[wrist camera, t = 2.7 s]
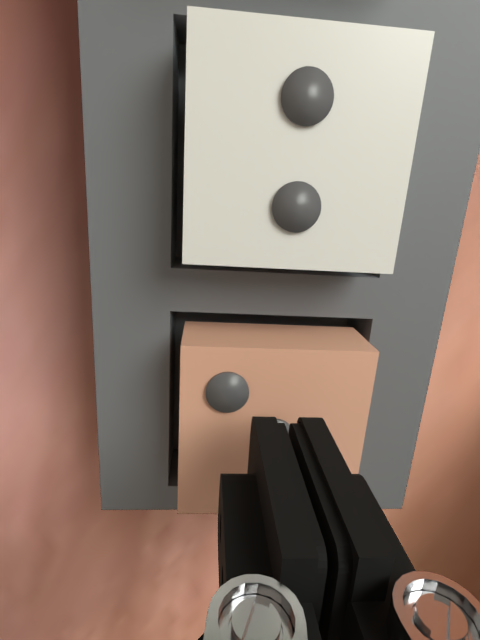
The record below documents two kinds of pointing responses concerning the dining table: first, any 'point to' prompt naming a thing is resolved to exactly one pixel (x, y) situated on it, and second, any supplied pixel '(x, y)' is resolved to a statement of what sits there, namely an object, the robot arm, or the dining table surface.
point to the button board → (249, 282)
